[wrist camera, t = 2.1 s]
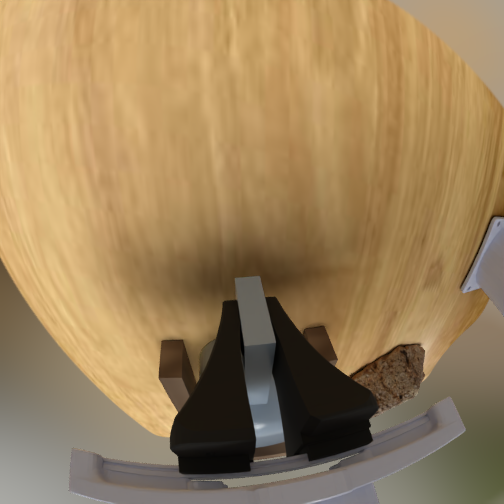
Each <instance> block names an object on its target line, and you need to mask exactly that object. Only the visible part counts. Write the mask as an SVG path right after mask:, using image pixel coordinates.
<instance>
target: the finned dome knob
mask: <svg viewBox="0 0 504 504" xmlns="http://www.w3.org/2000/svg"><path fill="white" fill-rule="evenodd" d="M235 296H236V300H237V303H238V308H239V314H240V343H241V357H242V364H243V370H244V376H245V382H246V387H247V393H248V398H249V404H250V409H251V414H252V419H253V423H254V428H255V435H256V448H258V447H265V446H270V445H274V444H278V443H282V442H285V441H284V434H283V427H282V421H281V414H280V408H279V402H278V397H277V391H276V386H275V382H274V378H273V375H272V368H273V362H274V354H275V347H276V340H275V336H274V332H273V328H272V324H271V320H270V316H269V312H268V308H267V303H266V299H265V295H264V291H263V287H262V283H261V279H260V276H253V277H240V278H235ZM215 340H216V339H215ZM215 340H213V341H211V342H210V343H208V344H207V345H206V346H205V347H204V348H203V349H202V351H201V352H200V355H199V379H200V377H201V375H202V373H203V371H204V369H205V367H206V364H207V362H208V360H209V357H210V355H211V352H212V349H213V346H214V343H215Z"/></svg>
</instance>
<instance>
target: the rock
mask: <svg viewBox="0 0 504 504" xmlns="http://www.w3.org/2000/svg"><path fill="white" fill-rule="evenodd" d="M424 357H425V350H424V349H423V348H422V347H420V346H418V345H410V346H405V347H401V346H398V347H397V348H395V349H394V350H393V351H392V352H391V353H389V354H388V355H384V356H382V357H380V358H379V359H378V360H376V361H375V362H373V363H372V364H371V363H370V364H369V365H367V366H366V367H365V368H364V369H363V370H362V371H360V372H358V373H357V374H355V375H354V376H353V377H352V378H351V379H353V380H354V381H356V382H357V383H359V384H361V385H362V386H364V387H366V388H368V389H369V390H371V392H372V394H373V395H374V397H375V399H376V401H377V403H378V406H379V409H378V411H377V412H376V413H375V414H374V415H373V416H372V417H376V416H378V415H380V414H382V413H384V412H385V411H387V410H389V409H391V408H393V407H396V406H398V405H400V404H402V403H404V402H406V401H408V400H410V399H412V398H414V397H415V396H416V395H417V394H418V391H419V387H420V383H421V382H422V380H423V379H424V376H425V374H424V372H423V363H424ZM372 417H371V418H372Z"/></svg>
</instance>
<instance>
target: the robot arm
mask: <svg viewBox="0 0 504 504" xmlns="http://www.w3.org/2000/svg"><path fill="white" fill-rule="evenodd" d="M479 288H481V289H482V290H483V291H484V292H485V293H486V295H487V296H488V297H489V298H490V299H491V301H492V302H493V303H494V304H495V306H496V307H497V308H498V310H499V311H500V312H501V313H502V315H503V316H504V217H494V218H493V219H492V221H491V223H490V226H489V228H488V231H487V234H486V236H485V239H484V241H483V243H482V246H481V248H480V250H479V253H478V255H477V257H476V259H475V261H474V264H473V266H472V268H471V270H470V272H469V274H468V276H467V278H466V280H465V282H464V284H463V285H462V287H461V291H462V292H463V293H466V292H469V291H472V290H476V289H479ZM265 299H266V303H267V308H268V312H269V316H270V320H271V324H272V328H273V332H274V336H275V340H276V347H275V354H274V362H273V368H272V375H273V378H274V382H275V386H276V391H277V397H278V402H279V408H280V414H281V421H282V427H283V434H284V441H285V449H286V458H280V459H274V460H267V461H260V462H254V461H253V459H254V454H255V448H256V435H255V428H254V423H253V419H252V414H251V409H250V404H249V398H248V393H247V387H246V382H245V376H244V370H243V364H242V357H241V343H240V314H239V308H238V303H237V300H229V301H224V302H223V308H222V316H221V321H220V326H219V330H218V333H217V337H216V340H215V343H214V346H213V349H212V352H211V355H210V357H209V360H208V362H207V364H206V367H205V369H204V371H203V373H202V375H201V377H200V379H199V381H198V383H197V385H196V386H195V388H194V390H193V391H192V393H191V395H190V396H189V398H188V400H187V401H186V403H185V404H184V406H183V407H182V408H181V410H180V411H179V413H178V414H177V415H176V417H175V419H174V422H173V425H172V429H171V434H170V449H171V450H172V452H174V453H175V454H176V455H177V456H178V461H179V465H159V464H147V463H137V462H129V461H122V460H115V459H109V458H103V457H102V456H101V455H99V454H96V453H93V452H89V451H85V450H80V449H76V448H72V452H71V462H70V477H69V491H70V492H71V493H74V494H77V495H80V496H84V497H87V498H90V499H94V500H98V501H102V502H106V503H110V504H379V501H378V497H377V494H376V491H375V487H374V484H373V482H375V481H377V480H380V479H382V478H384V477H387V476H389V475H391V474H393V473H395V472H397V471H400V470H401V469H403V468H405V467H407V466H409V465H411V464H413V463H415V462H417V461H419V460H421V459H422V458H424V457H426V456H428V455H429V454H431V453H433V452H434V451H436V450H438V449H439V448H441V447H442V446H444V445H446V444H447V443H449V442H450V441H452V440H453V439H455V438H456V437H458V436H459V435H460V434H462V433H464V432H465V430H466V429H465V427H464V425H463V422H462V420H461V418H460V416H459V414H458V411H457V409H456V407H455V406H454V403H453V401H452V399H451V397H447V398H445V399H443V400H442V401H440V402H438V403H436V404H434V405H433V406H431V407H430V408H429V409H428V410H427V411H426V412H424V413H422V414H420V415H418V416H416V417H414V418H411V419H409V420H407V421H405V422H402V423H400V424H398V425H395V426H393V427H390V428H388V429H385V430H383V431H381V432H378V433H375V434H372V435H371V433H370V430H369V427H371V424H370V422H369V419H370V418H371V417H372V416H373V415H374V414H375V413H376V412H377V411H378V409H379V406H378V403H377V401H376V399H375V397H374V395H373V394H372V392H371V390H369V389H368V388H366V387H364V386H362V385H361V384H359V383H357V382H356V381H354V380H353V379H351V378H350V377H348V376H347V375H345V374H344V373H343V372H341V371H340V370H339V369H337V368H336V367H335V366H334V365H332V364H331V363H330V362H329V361H328V360H326V359H325V358H324V357H323V356H322V355H321V354H320V353H319V352H318V351H317V350H316V349H315V348H314V347H313V346H312V345H311V344H310V343H309V342H308V341H307V340H306V338H305V337H304V336H303V335H302V334H301V333H300V331H299V330H298V329H297V328H296V326H295V325H294V324H293V322H292V321H291V320H290V318H289V317H288V315H287V314H286V313H285V311H284V310H283V308H282V306H281V305H280V303H279V301H278V300H277V298H276V297H265ZM357 453H359V454H357ZM354 454H357V455H354ZM351 455H354V456H351ZM348 456H351V457H349V458H346V459H344V460H341V461H340V462H339V463H338V464H336V465H334V466H332V467H330V468H329V471H325V472H320V473H316V474H312V475H307V476H303V477H298V478H293V479H288V480H283V481H277V482H271V483H265V484H258V485H251V486H243V487H233V488H228V486H227V485H224V484H223V482H220V481H191V480H215V479H233V478H245V477H254V476H262V475H269V474H275V473H282V472H287V471H293V470H298V469H303V468H307V467H312V466H316V465H319V464H324V463H327V462H331V461H335V460H338V459H342V458H345V457H348Z"/></svg>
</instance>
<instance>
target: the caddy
mask: <svg viewBox="0 0 504 504" xmlns="http://www.w3.org/2000/svg"><path fill="white" fill-rule="evenodd" d="M303 336H304V337H305V338H306V340H307V341H308V342H309V343H310V344H311V345H312V346H313V347H314V348H315V349H316V350H317V351H318V352H319V353H320V354H321V355H322V356H323V357H324V358H325V359H326V360H328V361H329V362H330V363H331V364H332V365H334V366H335V365H336V362H337V360H338V359H337V356H336V354H335V351H334V349H333V346H332V344H331V341H330V339H329V336H328V334H327V331H326V329H325V326H323V327H317V328H310V329H305V331H304V335H303ZM159 380H160V381H161V383H162V385H163V387H164V389H165V391H166V392H167V394H168V396H169V398H170V399H171V401H172V403H173V404H174V406H175V408H176V409H177V411H178V413H179V411H180V410H181V408H182V407H183V406H184V404H185V403H186V401H187V400H188V398H189V396H190V395H191V393H192V391H193V390H194V388H195V386H196V385H197V384H196V381H195V378H194V375H193V372H192V369H191V366H190V362H189V359H188V356H187V353H186V349H185V346H184V343H183V340H177V341H162V343H161V354H160V366H159ZM280 456H286V449H285V442H282V443H278V444H274V445H270V446H265V447H258V448H255V454H254V459H253V460H259V459H267V458H274V457H280Z"/></svg>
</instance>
